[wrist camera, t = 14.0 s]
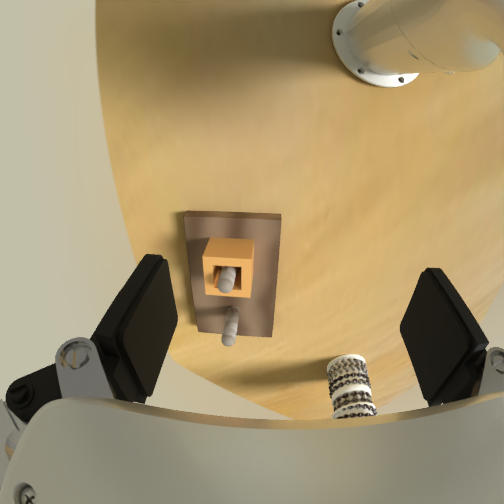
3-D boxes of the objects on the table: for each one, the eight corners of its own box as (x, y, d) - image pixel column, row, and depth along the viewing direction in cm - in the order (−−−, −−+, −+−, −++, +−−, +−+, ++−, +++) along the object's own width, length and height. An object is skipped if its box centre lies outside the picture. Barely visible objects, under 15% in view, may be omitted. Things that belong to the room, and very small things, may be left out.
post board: (281, 214, 39) (282, 249, 31) (272, 329, 50) (270, 371, 42) (187, 210, 39) (165, 243, 31) (200, 324, 51) (189, 364, 43)
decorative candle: (352, 346, 51) (373, 464, 30) (374, 363, 54) (396, 467, 33) (316, 367, 55) (323, 478, 34) (340, 382, 58) (351, 482, 37)
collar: (254, 239, 39) (251, 259, 34) (253, 275, 42) (250, 297, 38) (210, 237, 39) (202, 256, 35) (212, 273, 42) (205, 294, 38)
